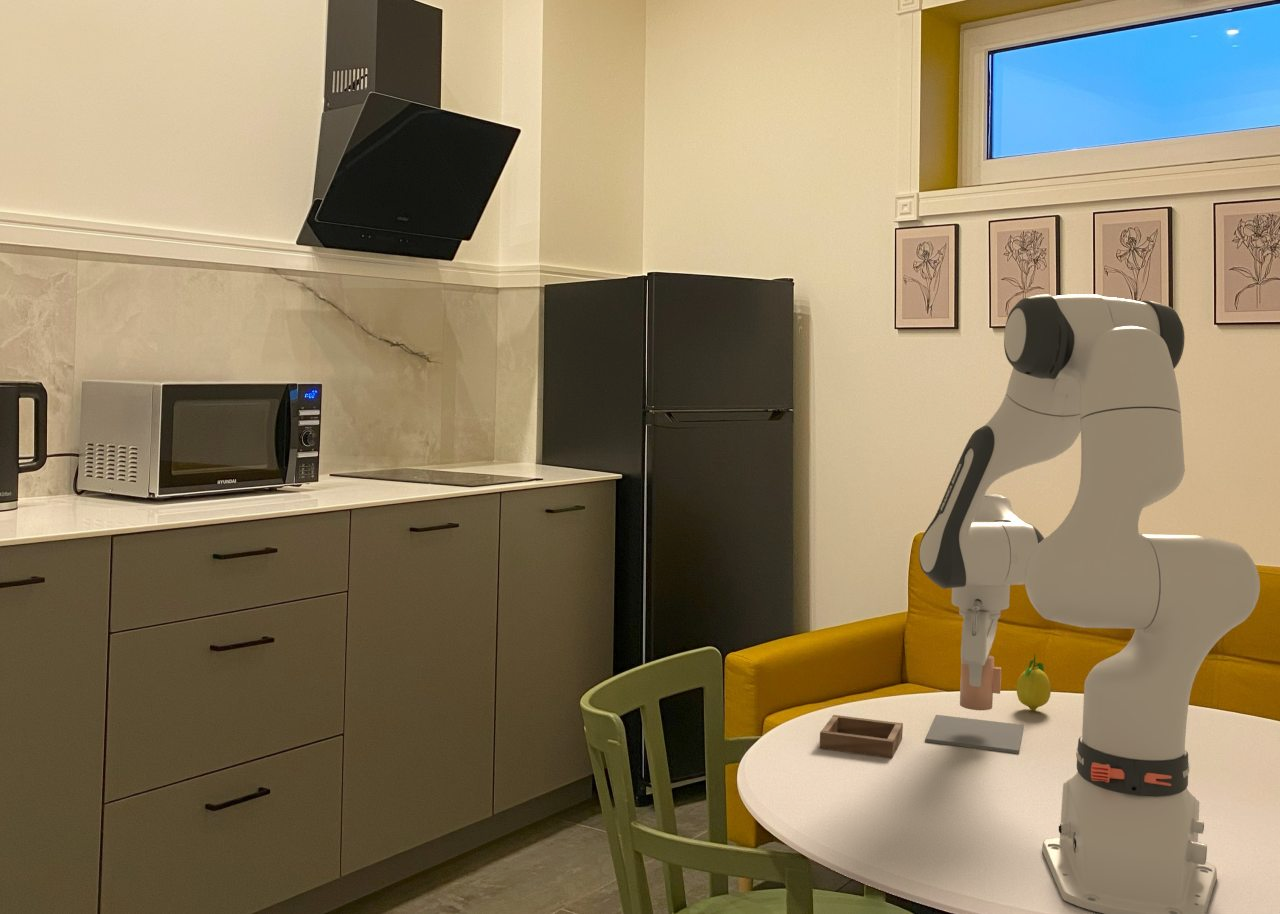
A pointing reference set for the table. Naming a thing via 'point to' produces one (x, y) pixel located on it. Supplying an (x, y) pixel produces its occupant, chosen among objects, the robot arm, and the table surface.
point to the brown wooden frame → (847, 731)
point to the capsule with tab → (983, 694)
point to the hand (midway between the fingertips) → (977, 680)
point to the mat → (975, 733)
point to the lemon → (1033, 686)
